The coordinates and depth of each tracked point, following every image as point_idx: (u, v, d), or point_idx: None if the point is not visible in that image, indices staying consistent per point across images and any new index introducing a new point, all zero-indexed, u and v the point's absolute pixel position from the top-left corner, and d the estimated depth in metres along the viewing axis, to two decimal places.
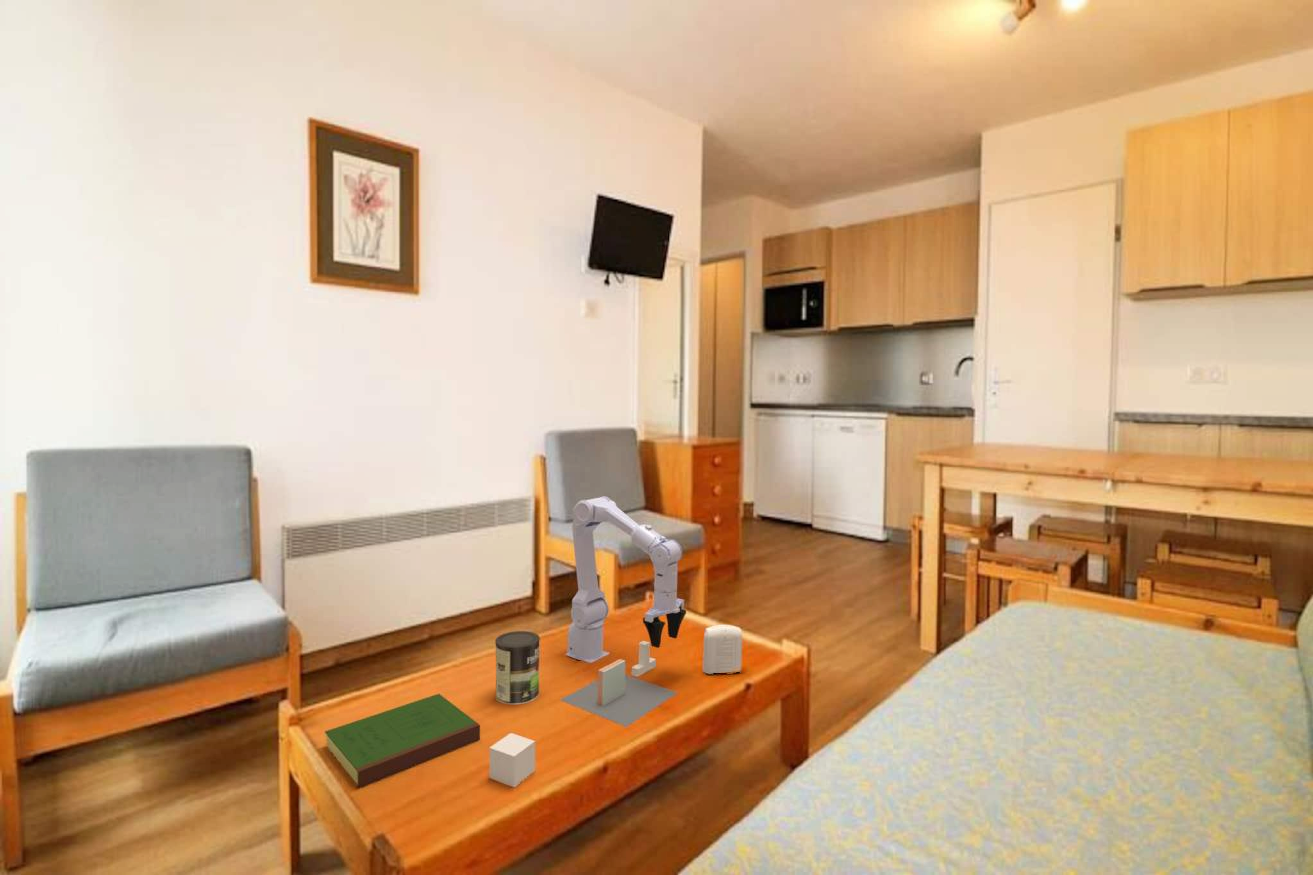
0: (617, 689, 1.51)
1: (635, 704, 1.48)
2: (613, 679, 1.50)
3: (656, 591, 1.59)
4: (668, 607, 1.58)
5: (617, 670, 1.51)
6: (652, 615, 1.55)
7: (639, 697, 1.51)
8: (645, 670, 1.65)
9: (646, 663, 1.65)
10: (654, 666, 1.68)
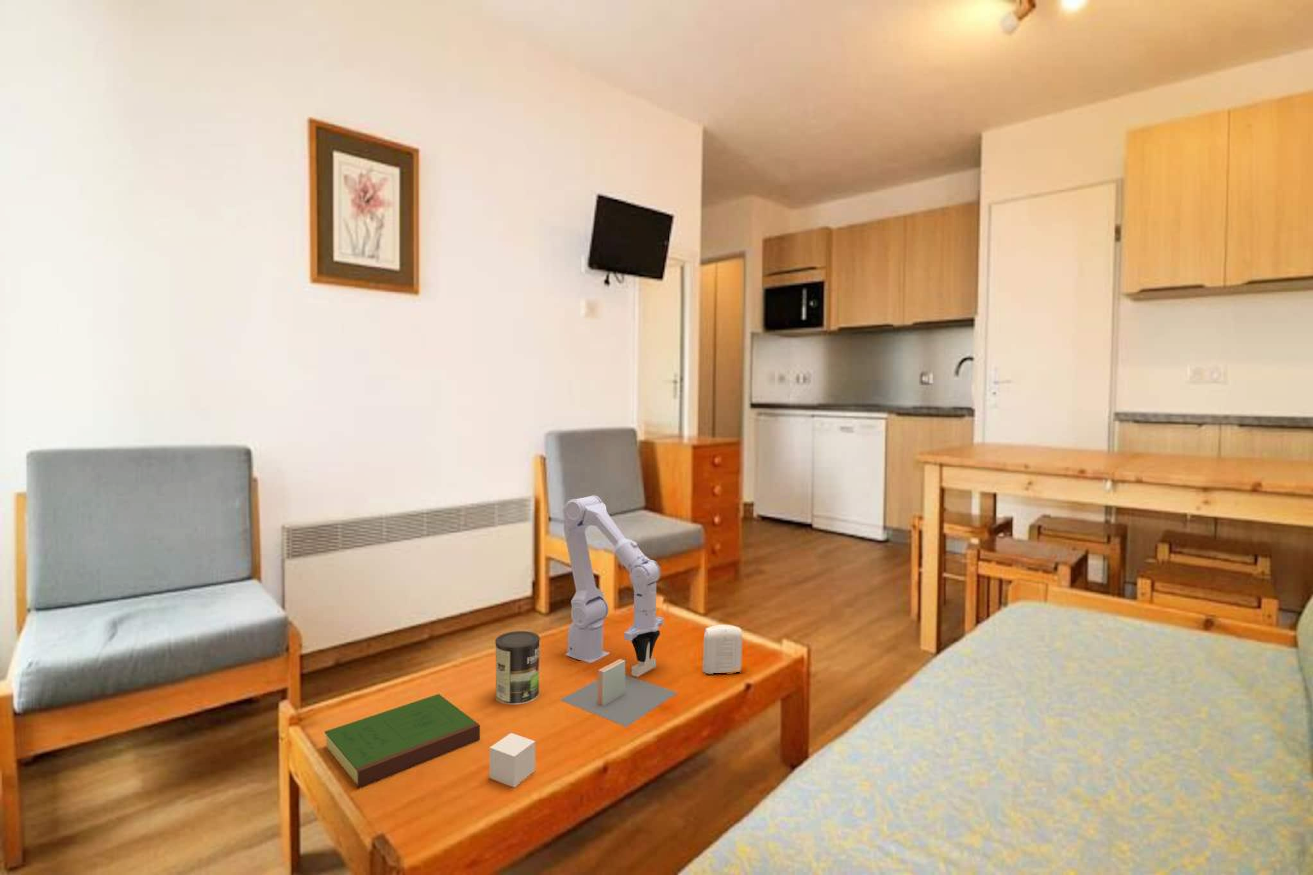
0: (617, 689, 1.51)
1: (635, 704, 1.48)
2: (613, 679, 1.50)
3: (635, 610, 1.64)
4: (647, 626, 1.63)
5: (617, 670, 1.51)
6: (631, 634, 1.59)
7: (639, 697, 1.51)
8: (645, 669, 1.65)
9: (646, 663, 1.65)
10: (654, 666, 1.68)
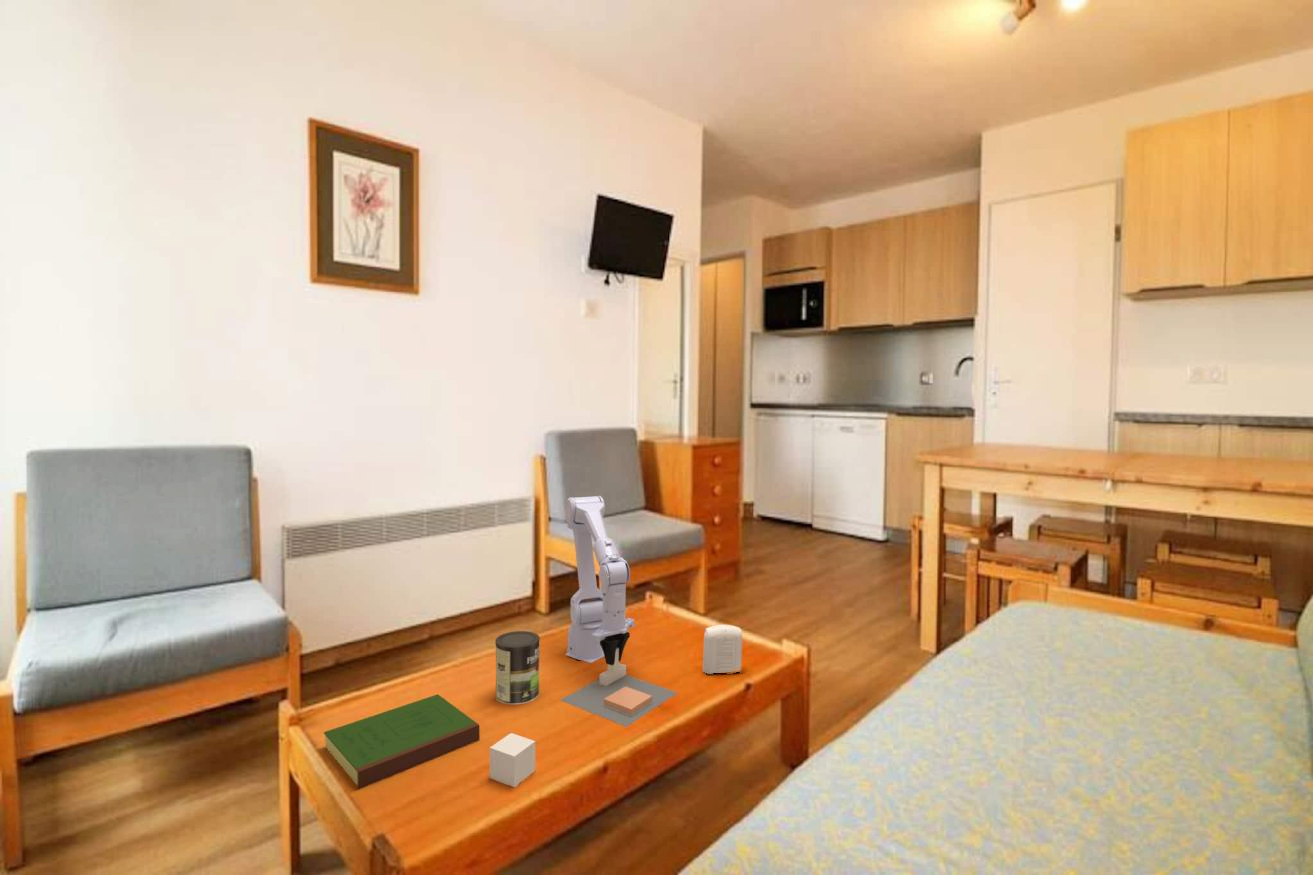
0: None
1: None
2: None
3: (604, 611, 1.58)
4: (616, 628, 1.57)
5: None
6: (599, 636, 1.54)
7: None
8: (614, 676, 1.60)
9: (615, 669, 1.60)
10: (624, 672, 1.63)
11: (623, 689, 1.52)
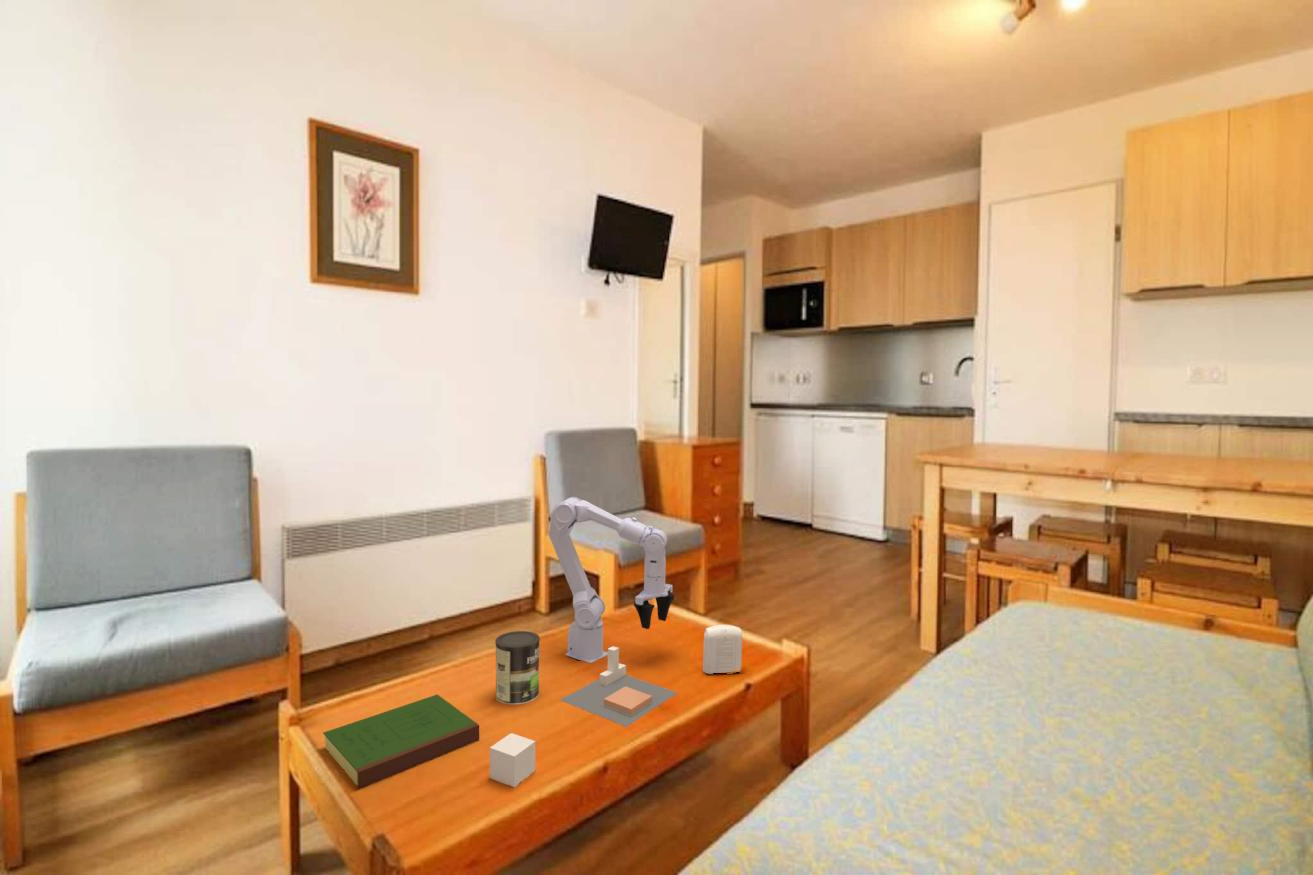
0: None
1: None
2: None
3: (646, 576, 1.70)
4: (657, 591, 1.69)
5: None
6: (642, 598, 1.66)
7: None
8: (614, 676, 1.60)
9: (615, 669, 1.60)
10: (624, 672, 1.63)
11: (623, 689, 1.52)
